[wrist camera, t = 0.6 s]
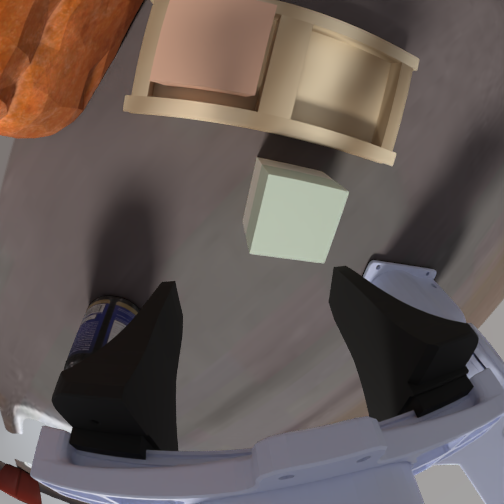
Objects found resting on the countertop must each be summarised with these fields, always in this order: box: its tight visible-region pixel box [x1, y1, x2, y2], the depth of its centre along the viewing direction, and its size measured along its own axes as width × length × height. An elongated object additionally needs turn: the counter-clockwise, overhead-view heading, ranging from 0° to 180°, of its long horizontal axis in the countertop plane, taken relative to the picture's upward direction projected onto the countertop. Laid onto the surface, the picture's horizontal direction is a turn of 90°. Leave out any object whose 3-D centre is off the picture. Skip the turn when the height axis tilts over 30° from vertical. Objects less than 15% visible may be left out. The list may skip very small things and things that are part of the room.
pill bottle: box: [64, 296, 140, 370], centre depth 20 cm, size 6×6×11 cm
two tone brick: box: [243, 157, 349, 263], centre depth 19 cm, size 5×5×5 cm
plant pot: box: [0, 464, 42, 504], centre depth 60 cm, size 19×19×17 cm
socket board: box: [123, 0, 419, 166], centre depth 15 cm, size 18×9×3 cm, turn 78°
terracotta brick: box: [149, 0, 277, 97], centre depth 13 cm, size 5×5×5 cm
